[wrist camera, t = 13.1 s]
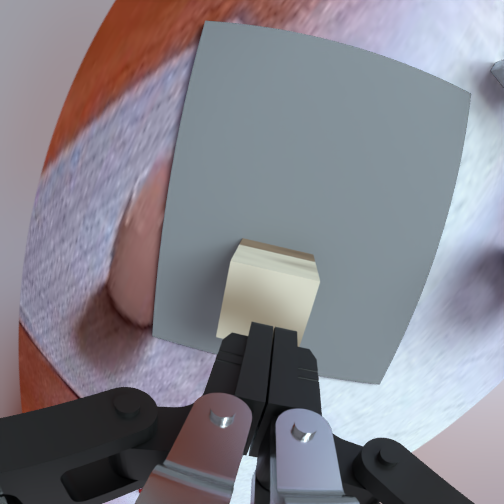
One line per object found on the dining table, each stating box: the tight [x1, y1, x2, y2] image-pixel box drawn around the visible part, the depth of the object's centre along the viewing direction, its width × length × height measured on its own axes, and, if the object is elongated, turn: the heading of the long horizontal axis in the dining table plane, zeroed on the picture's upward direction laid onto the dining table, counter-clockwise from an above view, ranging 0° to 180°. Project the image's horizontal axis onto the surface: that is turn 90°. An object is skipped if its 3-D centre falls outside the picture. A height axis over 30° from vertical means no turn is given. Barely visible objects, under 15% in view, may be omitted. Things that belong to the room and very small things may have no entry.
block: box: [216, 238, 320, 347], centre depth 25 cm, size 6×6×6 cm
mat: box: [152, 21, 471, 384], centre depth 26 cm, size 30×24×1 cm
